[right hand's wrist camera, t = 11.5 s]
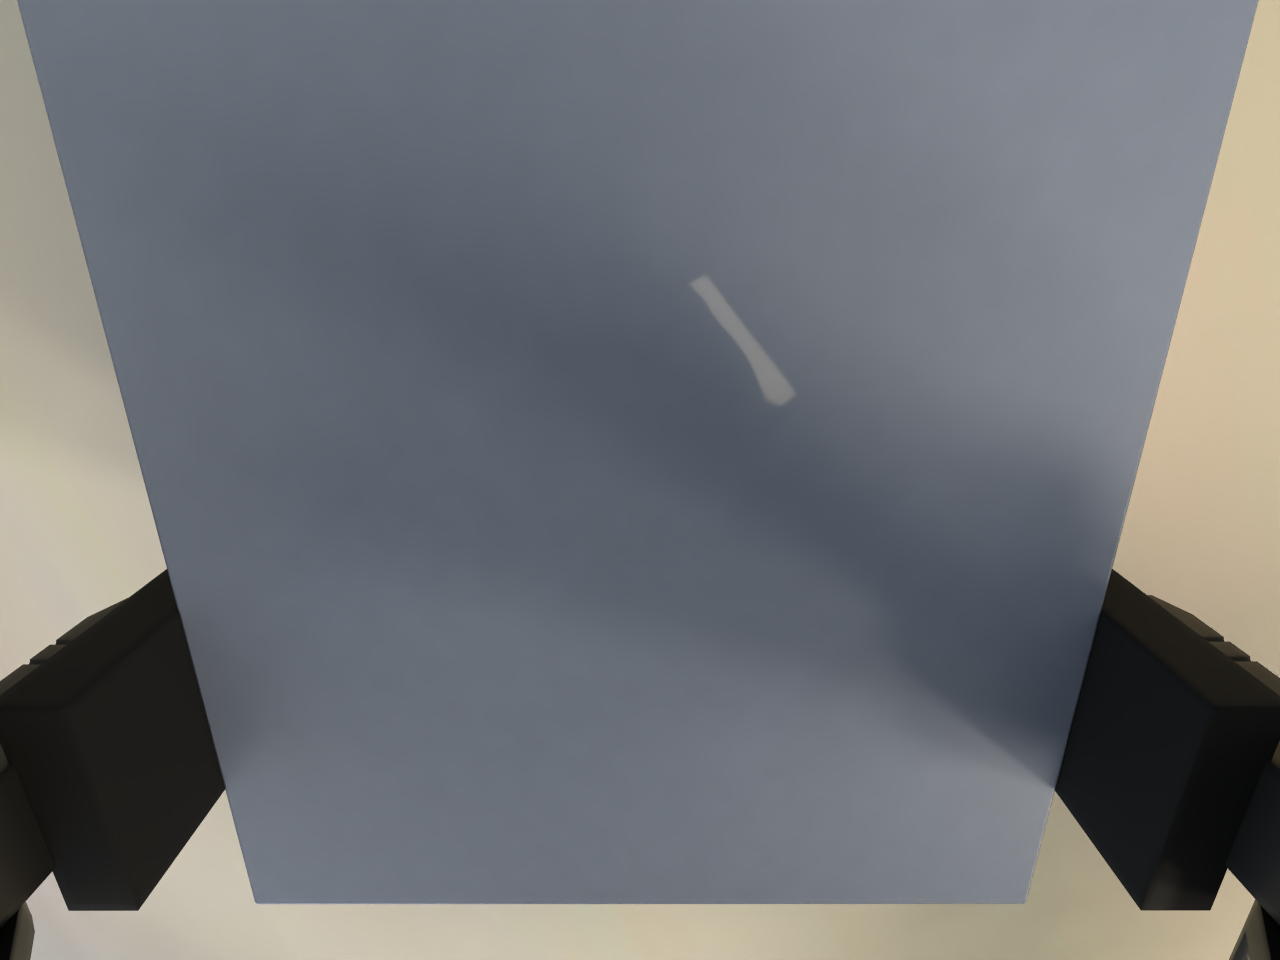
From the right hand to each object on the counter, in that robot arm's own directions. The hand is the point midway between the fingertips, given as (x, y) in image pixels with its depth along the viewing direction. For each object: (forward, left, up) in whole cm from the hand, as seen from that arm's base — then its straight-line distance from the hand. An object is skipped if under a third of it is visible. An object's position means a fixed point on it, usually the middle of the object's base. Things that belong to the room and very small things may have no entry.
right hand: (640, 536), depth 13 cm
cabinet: (+3, -6, -4) cm, 9 cm away
